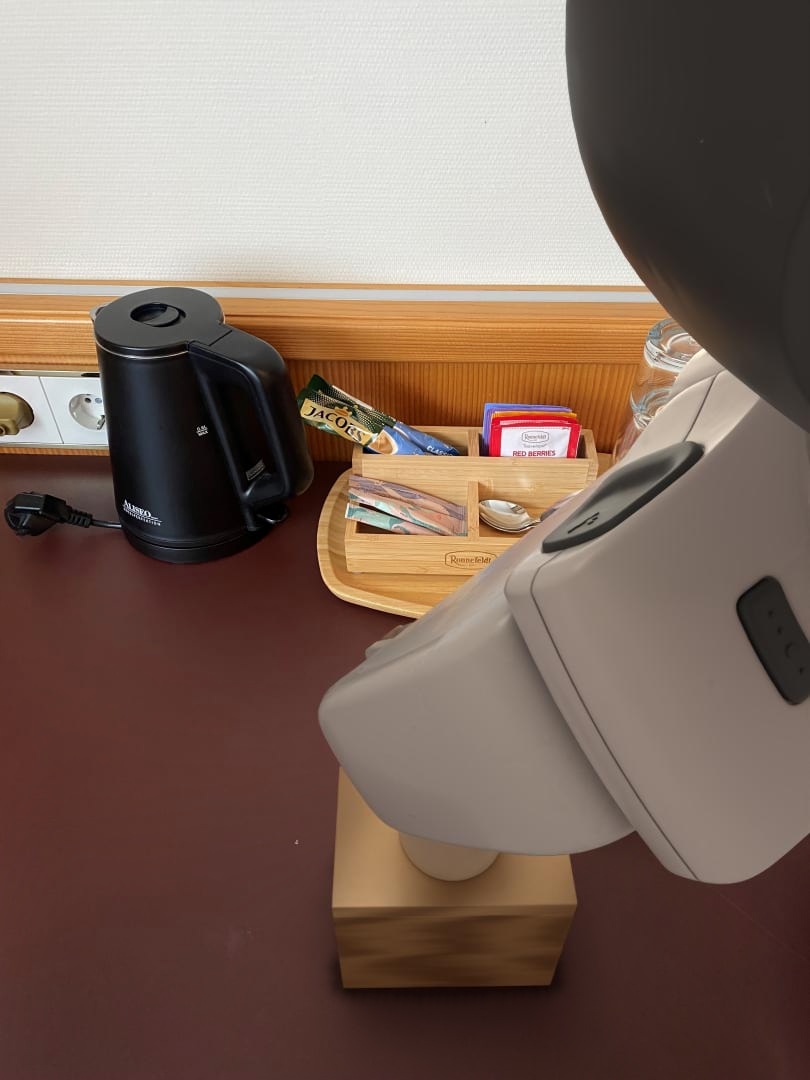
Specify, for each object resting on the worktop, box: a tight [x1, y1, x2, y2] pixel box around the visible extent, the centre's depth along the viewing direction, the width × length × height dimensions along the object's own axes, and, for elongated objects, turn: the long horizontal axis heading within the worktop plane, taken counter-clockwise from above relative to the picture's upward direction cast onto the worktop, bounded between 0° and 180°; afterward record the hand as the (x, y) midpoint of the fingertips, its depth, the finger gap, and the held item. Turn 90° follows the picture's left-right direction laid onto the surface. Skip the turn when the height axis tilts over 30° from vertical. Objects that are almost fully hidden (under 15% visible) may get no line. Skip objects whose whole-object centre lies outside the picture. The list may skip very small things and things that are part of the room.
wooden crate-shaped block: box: [331, 765, 579, 989], centre depth 45 cm, size 12×8×11 cm, turn 91°
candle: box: [399, 832, 499, 881], centre depth 38 cm, size 6×6×10 cm
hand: (480, 587), depth 29 cm, fingers open, 8 cm apart
